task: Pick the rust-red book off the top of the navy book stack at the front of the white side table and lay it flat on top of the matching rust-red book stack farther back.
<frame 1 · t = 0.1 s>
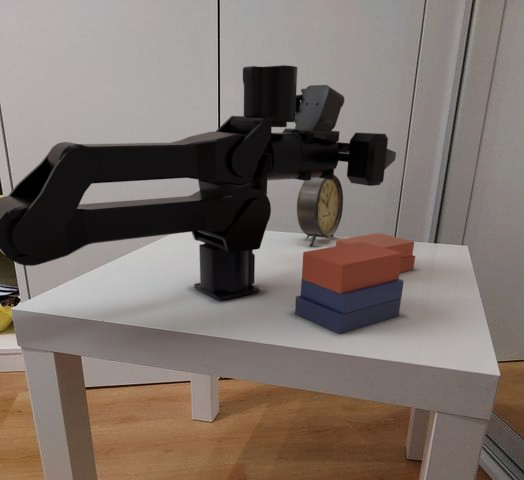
hand: (370, 153, 77), 17 cm above the table, tool horizontal, fingers open, 9 cm apart
rust book: (350, 279, 61), point 4 cm above the table, touching navy stack
navy stack: (346, 314, 63), on the table
rust stack: (373, 268, 82), on the table
alarm clock: (316, 242, 98), on the table
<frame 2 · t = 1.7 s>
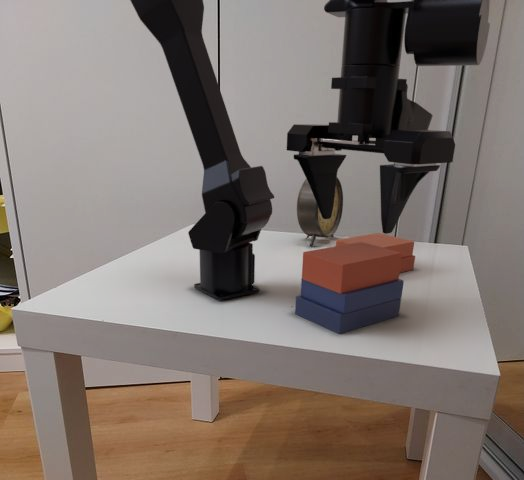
hand: (355, 225, 59), 11 cm above the table, tool pointing down, fingers open, 9 cm apart
nothing on the table moved.
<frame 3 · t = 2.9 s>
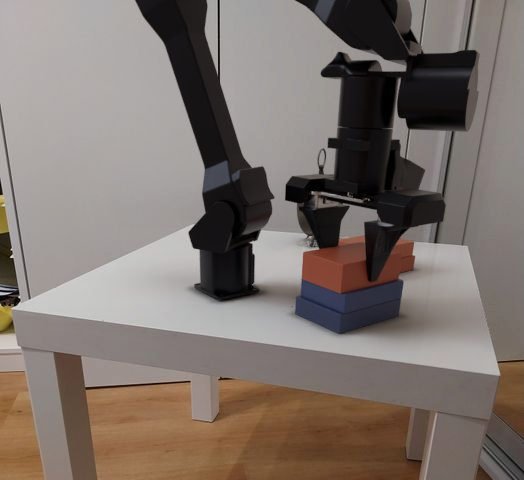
hand: (350, 274, 61), 5 cm above the table, tool pointing down, fingers closed on rust book, 6 cm apart
rust book: (350, 279, 61), point 4 cm above the table, touching gripper, navy stack
everything else where it was.
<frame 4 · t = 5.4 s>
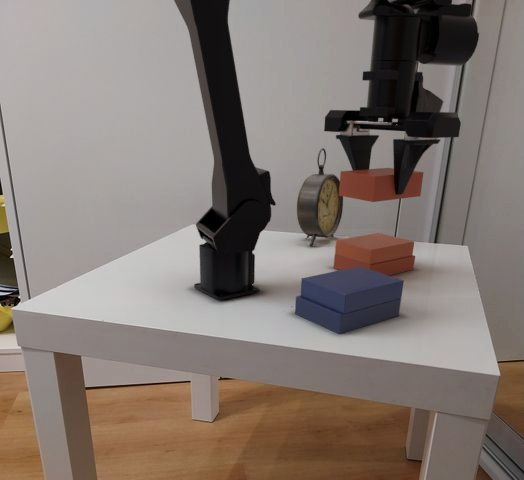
hand: (380, 191, 73), 12 cm above the table, tool pointing down, fingers closed on rust book, 6 cm apart
rust book: (379, 195, 73), point 12 cm above the table, touching gripper
everything else where it was.
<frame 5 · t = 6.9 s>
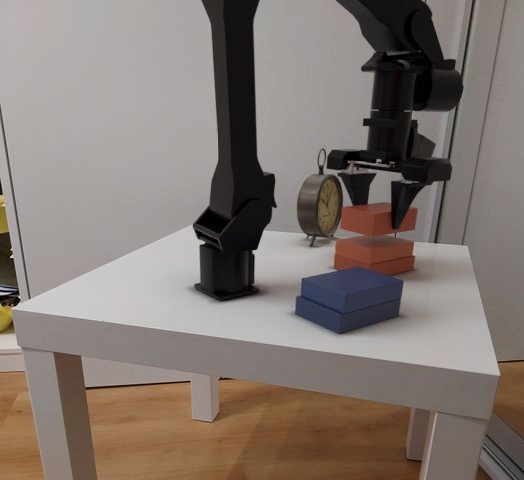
hand: (378, 225, 79), 7 cm above the table, tool pointing down, fingers closed on rust book, 6 cm apart
rust book: (377, 229, 79), point 6 cm above the table, touching gripper
everything else where it was.
when the fingers open (5 cm above the table, at t = 8.0 s): rust book stays where it is, resting on rust stack.
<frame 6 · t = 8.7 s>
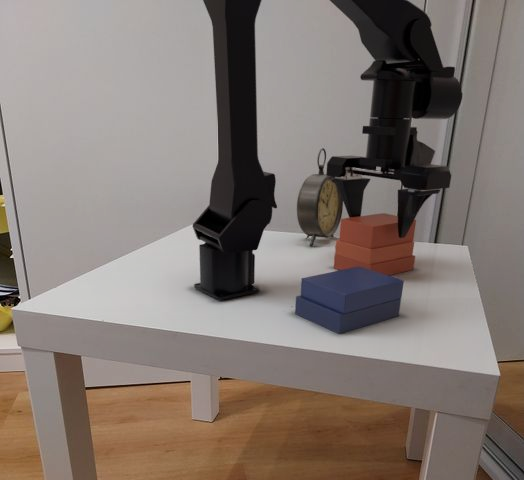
hand: (377, 231, 79), 6 cm above the table, tool pointing down, fingers open, 9 cm apart
rust book: (376, 240, 80), point 4 cm above the table, touching rust stack
everything else where it was.
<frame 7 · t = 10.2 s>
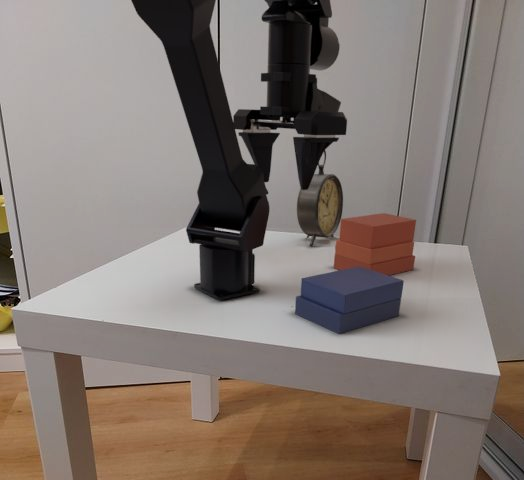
hand: (284, 185, 77), 12 cm above the table, tool pointing down, fingers open, 9 cm apart
nothing on the table moved.
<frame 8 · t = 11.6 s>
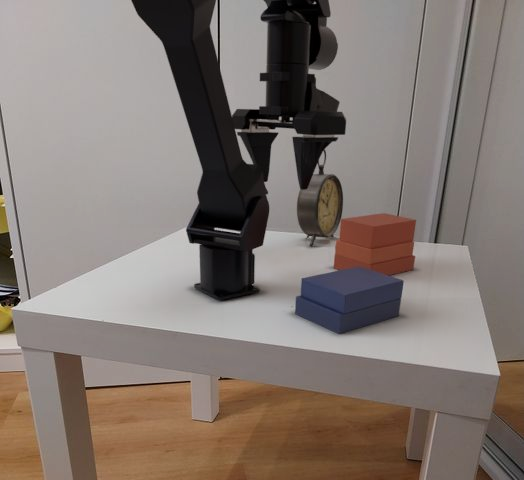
hand: (283, 185, 77), 12 cm above the table, tool pointing down, fingers open, 9 cm apart
nothing on the table moved.
at the end: rust book 0.0 cm off-centre on the rust stack, point 4.4 cm above the rust stack's base; rust book tilted 0°; the gripper is holding nothing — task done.
